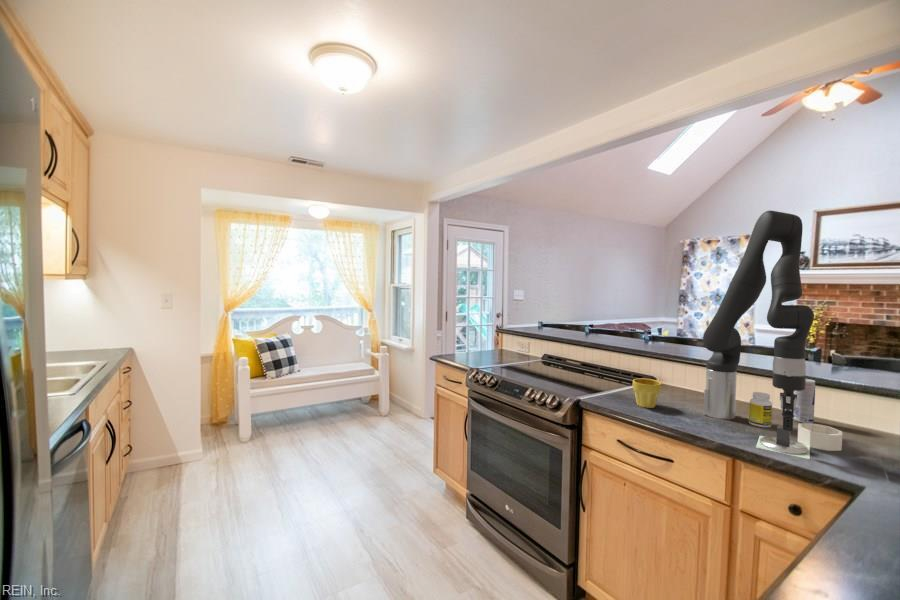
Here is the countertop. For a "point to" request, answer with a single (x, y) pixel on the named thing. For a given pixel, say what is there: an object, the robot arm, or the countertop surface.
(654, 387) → the plant pot
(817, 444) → the bowl
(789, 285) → the robot arm
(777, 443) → the lid
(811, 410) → the beverage can
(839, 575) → the countertop surface
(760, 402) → the pill bottle
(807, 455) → the mat
